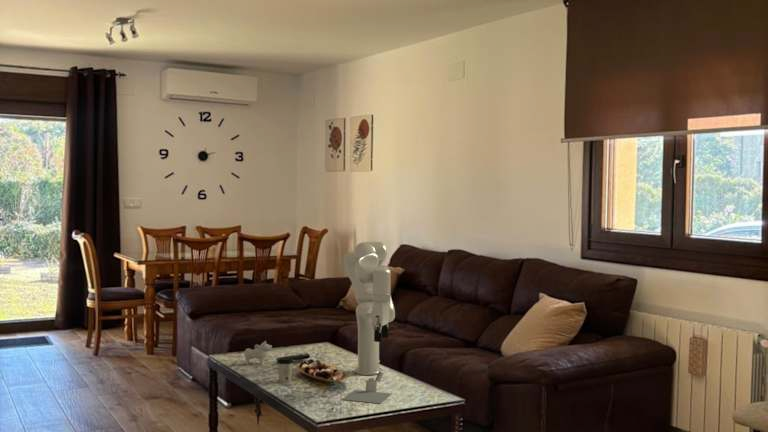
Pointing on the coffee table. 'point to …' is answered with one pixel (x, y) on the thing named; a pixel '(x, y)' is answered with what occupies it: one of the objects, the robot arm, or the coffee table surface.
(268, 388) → the coffee table surface
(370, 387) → the lighter
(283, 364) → the coffee cup
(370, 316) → the robot arm
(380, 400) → the mat
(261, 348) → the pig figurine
